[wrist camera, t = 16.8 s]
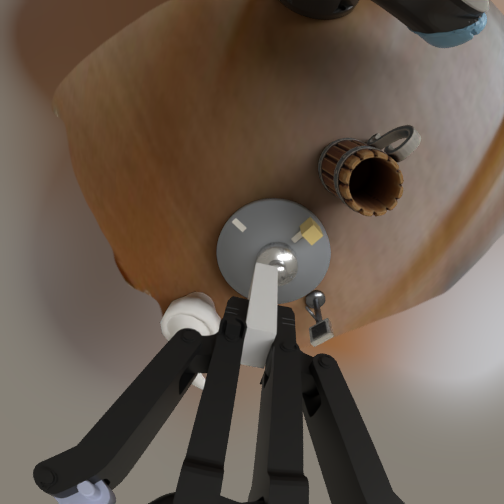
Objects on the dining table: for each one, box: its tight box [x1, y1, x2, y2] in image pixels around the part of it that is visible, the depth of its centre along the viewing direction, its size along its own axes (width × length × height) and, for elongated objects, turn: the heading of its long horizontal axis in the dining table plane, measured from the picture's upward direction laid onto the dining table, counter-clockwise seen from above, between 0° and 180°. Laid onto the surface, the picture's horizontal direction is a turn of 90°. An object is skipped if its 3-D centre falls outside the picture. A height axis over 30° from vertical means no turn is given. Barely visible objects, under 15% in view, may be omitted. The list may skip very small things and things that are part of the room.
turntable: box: [217, 198, 331, 304], centre depth 47 cm, size 20×20×6 cm
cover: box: [256, 242, 298, 286], centre depth 45 cm, size 7×7×5 cm
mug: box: [318, 125, 421, 216], centre depth 36 cm, size 16×11×15 cm
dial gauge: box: [305, 290, 334, 347], centre depth 49 cm, size 7×4×12 cm, turn 39°
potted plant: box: [160, 292, 221, 390], centre depth 47 cm, size 13×12×25 cm
